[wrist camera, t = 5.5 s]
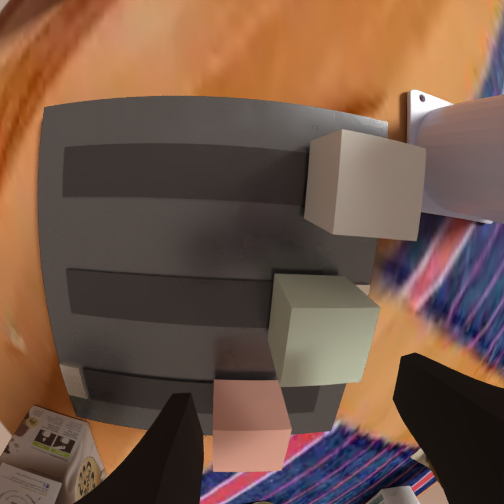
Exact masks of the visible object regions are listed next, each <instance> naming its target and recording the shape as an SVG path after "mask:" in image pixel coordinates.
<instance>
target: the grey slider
mask: <svg viewBox="0 0 504 504" xmlns="http://www.w3.org/2000/svg"><path fill="white" fill-rule="evenodd" d="M425 163H426V148H423V147H419V146H415V145H411V144H408V143H404V142H400V141H396V140H392V139H387V138H383V137H379V136H374V135H369V134H365V133H360V132H355V131H350V130H344V129H341V130H338V131H335V132H333V133H330V134H327V135H325V136H322V137H320V138H317V139H314V140H312V141H310V154H309V167H308V180H307V191H306V202H305V213H304V219H306V220H308V221H310V222H311V223H313V224H315V225H317V226H319V227H320V228H322V229H324V230H326V231H327V232H329V233H331V234H334V235H347V236H360V237H372V238H384V239H396V240H407V241H417V236H418V230H419V223H420V215H421V207H422V198H423V189H424V177H425Z"/></svg>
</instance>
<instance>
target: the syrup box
mask: <svg viewBox="0 0 504 504" xmlns="http://www.w3.org/2000/svg"><path fill="white" fill-rule="evenodd" d="M365 504H420V503H419V501H418V499H417V498H416V496H415V494H414V492H413V491H412V489H411V487H410V486H400V487H392V488H385V489H381V490H380V491H379V492H378V493H377V494H376V495H375V496H374V497H373V498H372V499H370V500H369V501H368V502H367V503H365Z"/></svg>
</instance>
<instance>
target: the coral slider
mask: <svg viewBox="0 0 504 504" xmlns="http://www.w3.org/2000/svg"><path fill="white" fill-rule="evenodd" d="M291 431H292V428H291V424H290V420H289V417H288V413H287V409H286V406H285V402H284V398H283V394H282V391H281V387H280V385H279V381H278V380H216V379H214V395H213V472H261V471H279V470H282V466H283V462H284V459H285V455H286V451H287V447H288V443H289V439H290V435H291Z"/></svg>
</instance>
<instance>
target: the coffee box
mask: <svg viewBox="0 0 504 504" xmlns="http://www.w3.org/2000/svg"><path fill="white" fill-rule="evenodd" d="M106 475H107V474H106V471H105V469H104V466H103V464H102V461H101V459H100V456H99V453H98V451H97V448H96V445H95V442H94V439H93V436H92V433H91V430H90V427H89V424H88V423H87V422H85V421H81V420H78V419H74V418H71V417H67V416H64V415H61V414H58V413H55V412H52V411H49V410H46V409H43V408H40V407H38V406H35V405H34V406H32V408H31V409H30V410H29V412H28V413H27V415H26V416H25V418H24V420H23V421H22V423H21V424H20V426H19V427H18V429H17V430H16V432H15V434H14V435H13V436H12V438H11V440H10V441H9V443H8V445H7V447H6V448H5V450H4V451H3V453H2V455H1V456H0V504H73V503H75V502H76V501H78V500H79V499H81V498H82V497H84V496H85V495H86V494H88V493H89V492H90V491H92V490H93V489H94V488H95V487H96V486H98V485H99V484H100V483H101V482H102V481H103V480H105V479H106Z"/></svg>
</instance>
